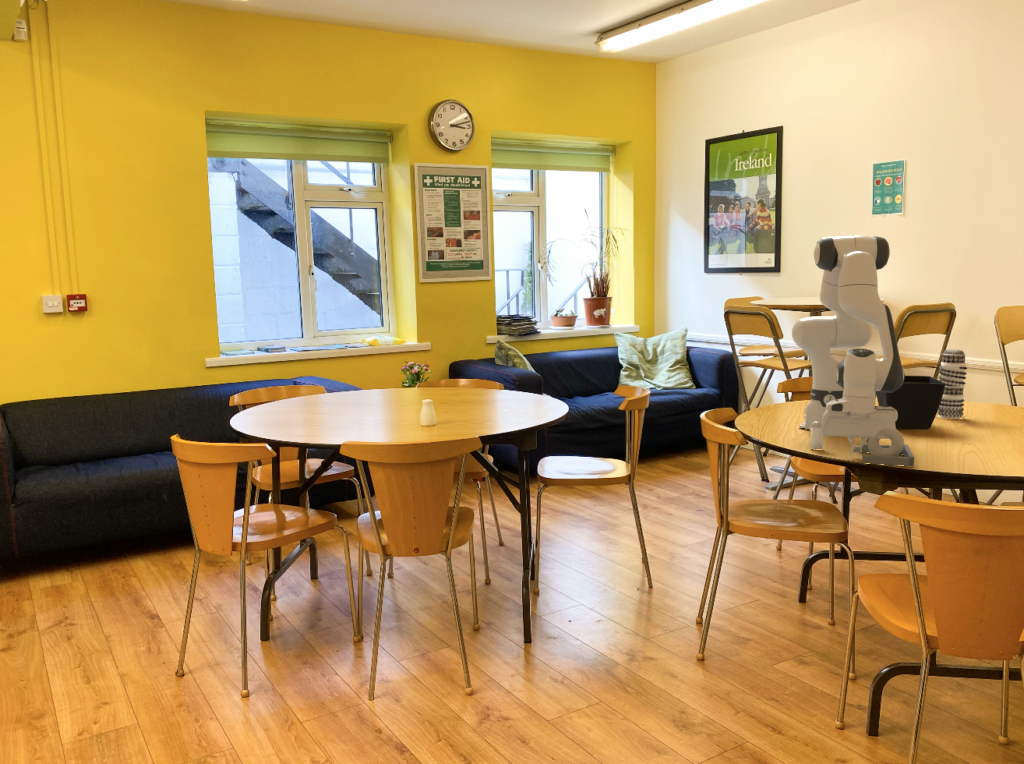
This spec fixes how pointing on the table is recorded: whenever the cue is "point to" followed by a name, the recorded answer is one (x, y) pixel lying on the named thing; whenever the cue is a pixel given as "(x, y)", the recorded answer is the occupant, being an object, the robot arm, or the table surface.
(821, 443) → the salt shaker
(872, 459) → the tray
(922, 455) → the table surface
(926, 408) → the flower pot
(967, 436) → the table surface
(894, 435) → the donut
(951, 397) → the decorative candle
